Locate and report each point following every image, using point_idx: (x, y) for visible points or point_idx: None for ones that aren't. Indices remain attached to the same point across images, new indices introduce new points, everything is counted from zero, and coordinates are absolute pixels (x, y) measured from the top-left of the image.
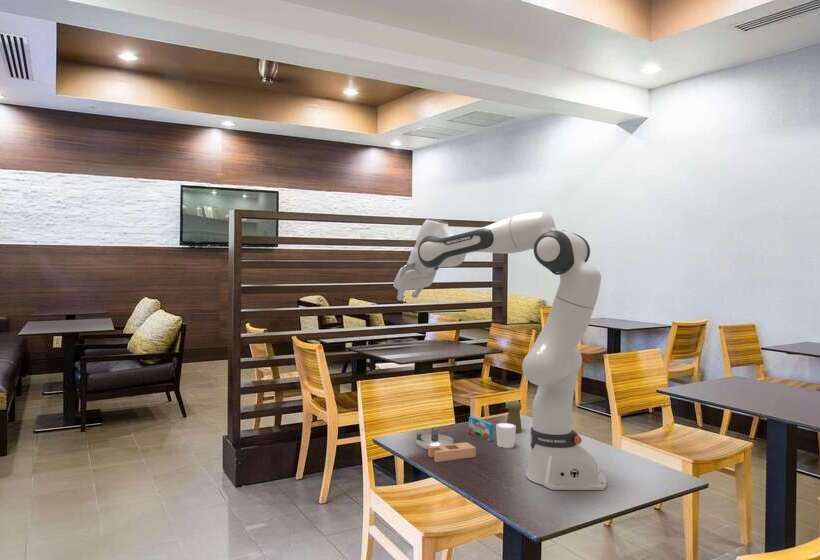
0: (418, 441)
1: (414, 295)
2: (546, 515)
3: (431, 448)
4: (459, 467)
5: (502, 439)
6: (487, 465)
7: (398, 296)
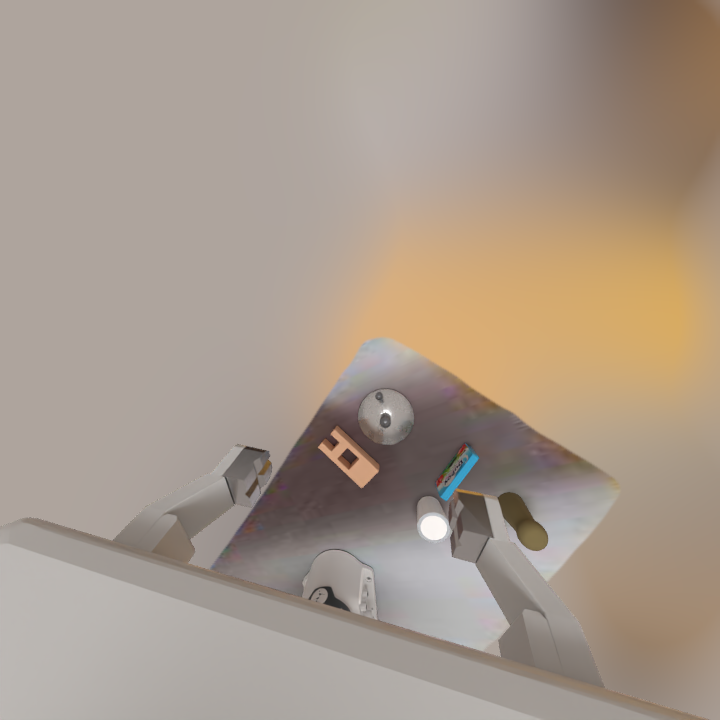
0: (367, 399)
1: (457, 521)
2: (244, 579)
3: (331, 434)
4: (318, 473)
5: (417, 513)
6: (341, 502)
7: (223, 466)
